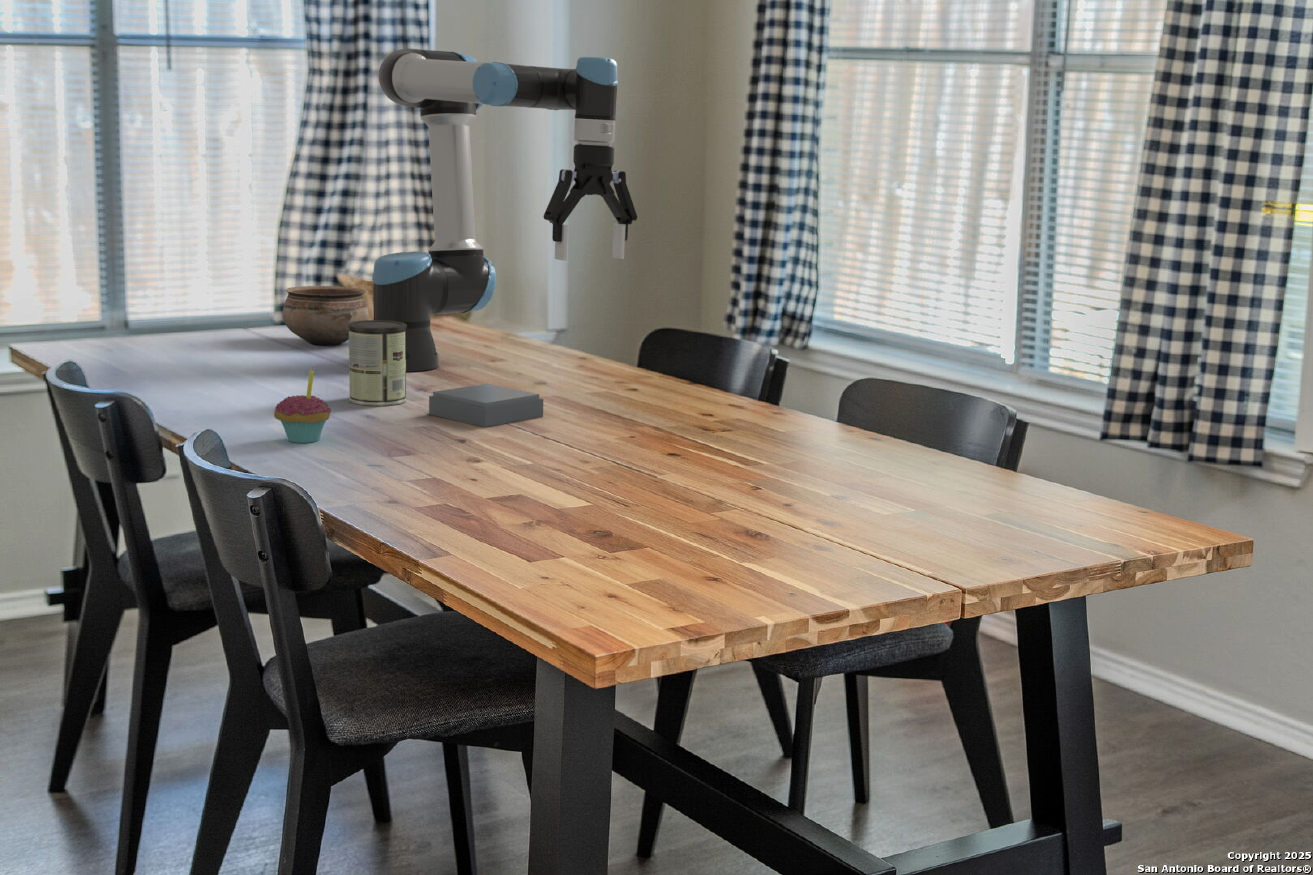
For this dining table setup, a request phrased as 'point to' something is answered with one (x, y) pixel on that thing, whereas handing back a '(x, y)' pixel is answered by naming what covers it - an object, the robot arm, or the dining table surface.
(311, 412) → the cupcake
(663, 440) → the dining table surface
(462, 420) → the pedestal
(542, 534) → the dining table surface
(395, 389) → the coffee can
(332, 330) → the cooking pot
